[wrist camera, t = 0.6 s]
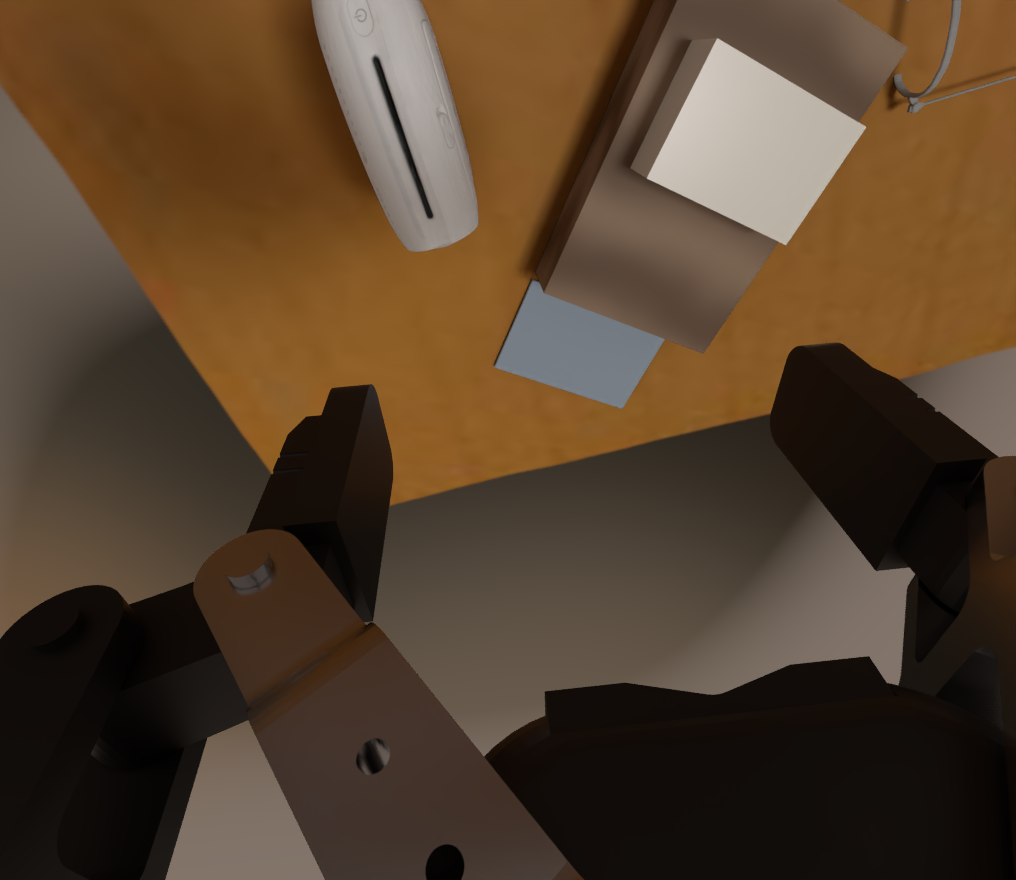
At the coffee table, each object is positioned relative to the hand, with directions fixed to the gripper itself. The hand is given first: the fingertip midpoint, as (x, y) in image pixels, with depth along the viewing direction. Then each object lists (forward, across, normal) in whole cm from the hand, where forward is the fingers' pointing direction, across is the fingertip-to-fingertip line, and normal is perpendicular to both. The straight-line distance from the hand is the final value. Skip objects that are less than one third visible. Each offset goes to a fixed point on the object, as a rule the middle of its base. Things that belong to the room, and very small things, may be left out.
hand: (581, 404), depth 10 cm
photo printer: (+27, +4, -3) cm, 27 cm away
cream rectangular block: (+21, -12, 0) cm, 24 cm away
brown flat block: (+26, -11, +1) cm, 29 cm away
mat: (+26, -5, +13) cm, 30 cm away
